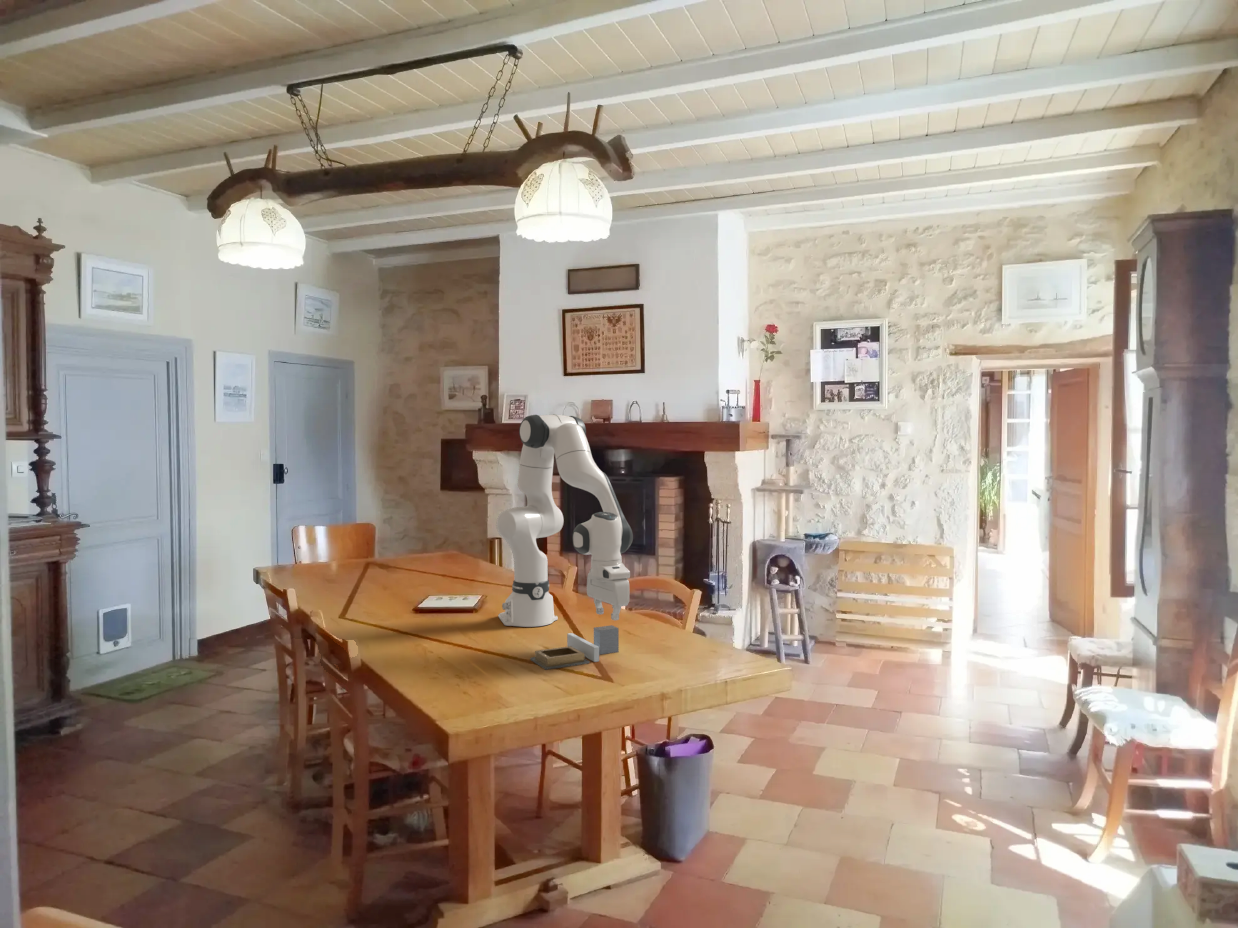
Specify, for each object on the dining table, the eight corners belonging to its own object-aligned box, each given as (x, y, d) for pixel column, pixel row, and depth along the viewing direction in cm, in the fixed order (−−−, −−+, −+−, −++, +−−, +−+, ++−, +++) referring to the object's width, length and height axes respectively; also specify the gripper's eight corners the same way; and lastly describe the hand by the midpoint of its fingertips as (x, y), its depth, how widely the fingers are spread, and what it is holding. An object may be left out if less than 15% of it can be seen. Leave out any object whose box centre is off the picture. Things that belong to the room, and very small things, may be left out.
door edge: (567, 646, 246) (567, 633, 246) (571, 646, 247) (571, 632, 247) (594, 661, 231) (594, 647, 230) (599, 661, 231) (599, 646, 231)
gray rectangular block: (593, 651, 242) (593, 627, 241) (612, 648, 244) (612, 625, 244) (599, 654, 238) (599, 630, 238) (618, 652, 241) (618, 628, 241)
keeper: (530, 659, 233) (530, 650, 233) (572, 653, 239) (572, 644, 239) (545, 669, 223) (545, 660, 223) (589, 663, 229) (589, 653, 229)
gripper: (581, 565, 248) (581, 611, 248) (613, 574, 230) (614, 624, 230) (600, 563, 251) (600, 609, 251) (633, 572, 233) (634, 621, 233)
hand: (607, 616), depth 241 cm, fingers open, 8 cm apart
